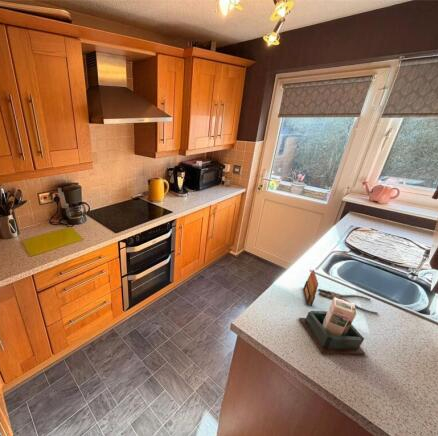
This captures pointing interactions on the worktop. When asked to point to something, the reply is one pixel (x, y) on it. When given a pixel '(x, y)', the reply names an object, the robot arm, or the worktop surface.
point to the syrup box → (339, 317)
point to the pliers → (343, 299)
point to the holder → (331, 343)
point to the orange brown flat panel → (310, 288)
